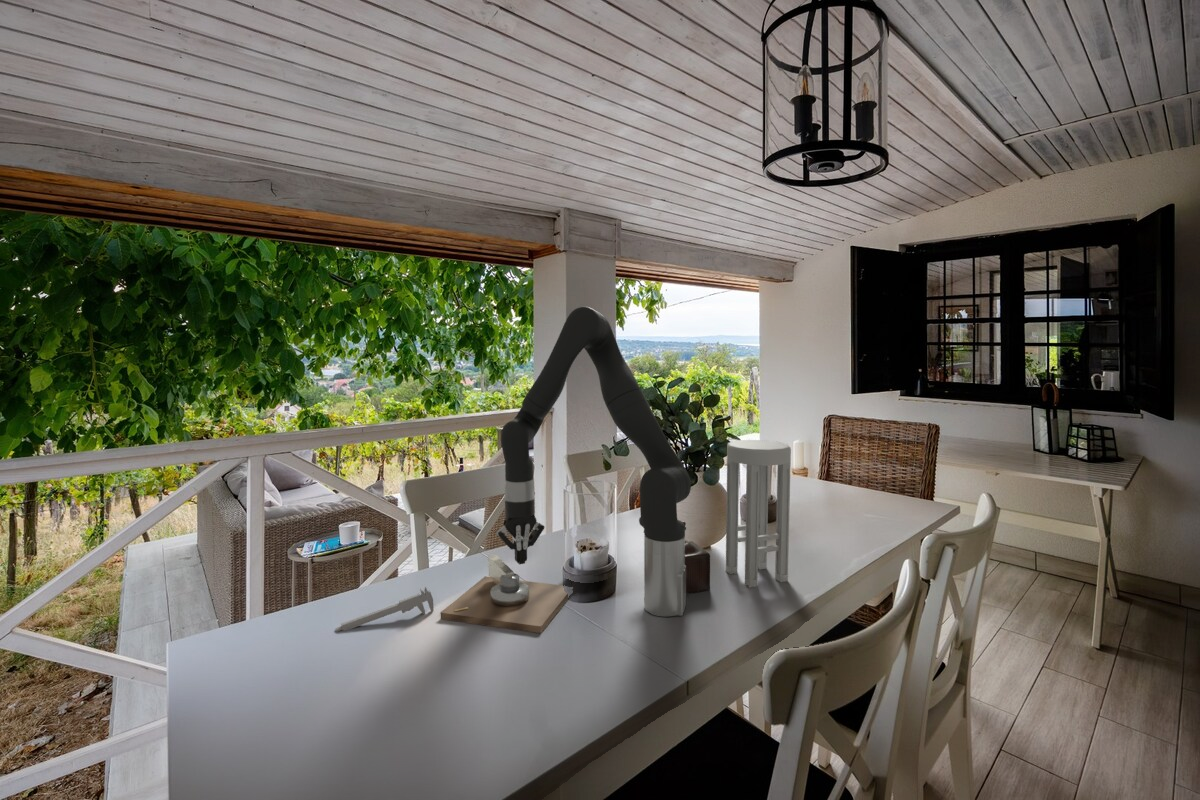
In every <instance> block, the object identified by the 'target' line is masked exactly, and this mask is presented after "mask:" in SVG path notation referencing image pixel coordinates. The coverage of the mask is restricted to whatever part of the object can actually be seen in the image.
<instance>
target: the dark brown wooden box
mask: <svg viewBox="0 0 1200 800" xmlns="http://www.w3.org/2000/svg"><path fill="white" fill-rule="evenodd" d="M681 521H682V520H681ZM682 522H683V523H684V525H685V531H686V530H687V527H686V522H685V521H684V520H683V521H682ZM638 523H639V525H640V526H641V527H642V528H643V529H644V527H643V525H642V522H641V516H640V517H639V518H638ZM685 565H686V595H689V594H695V593H701V592H706V591H710V590H711V554H710V553H709V552H708V551H707V550H705V549H704V548H702V547H701V546H700V545H698V544H697V543H695V542H694V541H692V540H691V541H688V540H686V539H685Z"/></svg>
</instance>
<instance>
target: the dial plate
mask: <svg viewBox="0 0 1200 800" xmlns="http://www.w3.org/2000/svg"><path fill="white" fill-rule="evenodd" d="M519 582H522V583H525V584H527V585H528V586H529V594H530V597H529V599H528V600H527V601H526V602H524V603H522V604H519V605H515V606H499V605H496V604H494V603H492V602H491V594H490V590H491V588H492V587H494V586H495V585H497V584H496V583H495V582H494V581H493V580H492V579H491V577H490V576H483V578H481V579H480V580H478V582H476V583H475V584H474V585H472V586H471V587H470V588H469V589H468V590H466V591H465V592H464V593H463V594H462V595H460V596H459V597H458V598H456V599H455V600H453V602H451V603H450V604H449V605H448V606H446V607H445V608H444V609H443V610H442V611H440V613H439V614H440V620H445V621H452V622H459V623H465V624H473V625H480V626H486V627H487V626H488V627H494V628H501V629H509V630H516V631H523V632H529V633H530V632H531V633H536V634H542V633H543V631H545V629H546V628H547V626H548V625H549V624H550V622H551V621H553V619H554V618H555V617H556V615H557V614H558V613H559V611H560V610H561V608H562V607H564V605H565V603H566V602H567V601H568V600H569V599H568V593H566V592H565V591H564V588H563V584H562V585H561V584H554V583H553V584H552V583H544V582H538V581H537V582H536V581H527V580H520V579H519Z"/></svg>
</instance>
